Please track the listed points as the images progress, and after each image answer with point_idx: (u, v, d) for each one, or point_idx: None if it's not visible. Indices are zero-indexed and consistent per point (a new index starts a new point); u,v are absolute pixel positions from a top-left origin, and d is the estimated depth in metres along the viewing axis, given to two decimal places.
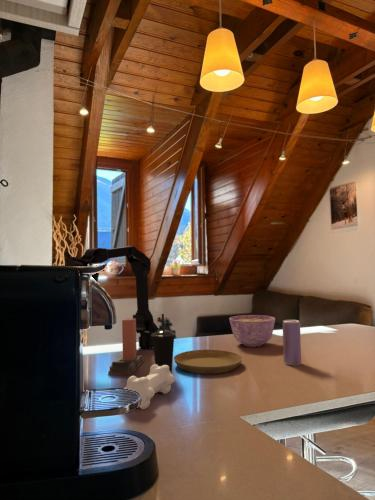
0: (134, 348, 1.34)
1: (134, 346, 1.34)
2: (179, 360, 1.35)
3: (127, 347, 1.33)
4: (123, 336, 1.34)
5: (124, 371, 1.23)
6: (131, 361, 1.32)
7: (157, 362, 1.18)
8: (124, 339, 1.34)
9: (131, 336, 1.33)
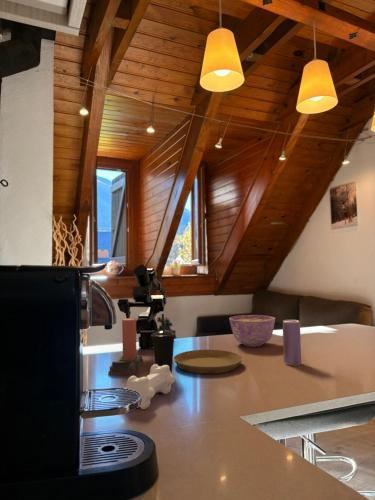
0: (134, 348, 1.34)
1: (134, 346, 1.34)
2: (179, 360, 1.35)
3: (127, 347, 1.33)
4: (123, 336, 1.34)
5: (124, 371, 1.23)
6: (131, 361, 1.32)
7: (157, 362, 1.18)
8: (124, 339, 1.34)
9: (131, 336, 1.33)
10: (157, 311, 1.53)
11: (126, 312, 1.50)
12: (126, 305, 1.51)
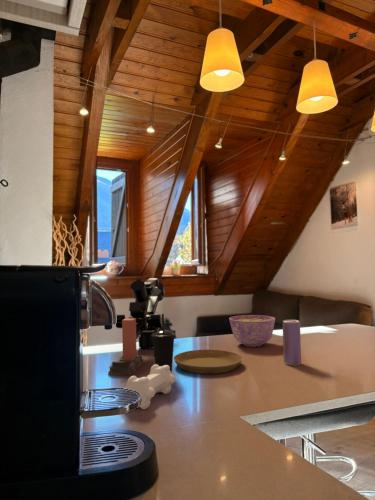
0: (134, 348, 1.34)
1: (134, 346, 1.34)
2: (179, 360, 1.35)
3: (127, 347, 1.33)
4: (123, 336, 1.34)
5: (124, 371, 1.23)
6: (131, 361, 1.32)
7: (157, 362, 1.18)
8: (124, 339, 1.34)
9: (131, 336, 1.33)
10: (145, 328, 1.48)
11: None
12: None
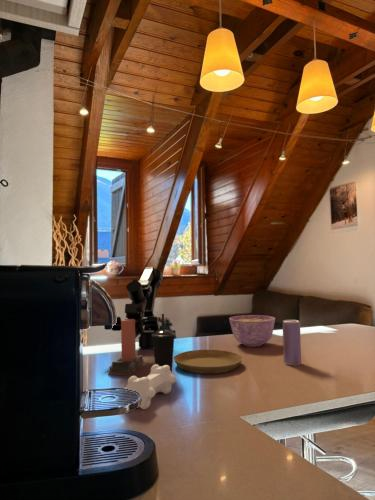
0: (133, 349, 1.33)
1: (133, 347, 1.33)
2: (179, 360, 1.35)
3: (126, 347, 1.32)
4: (122, 337, 1.32)
5: (124, 371, 1.23)
6: (130, 362, 1.31)
7: (157, 362, 1.18)
8: (123, 340, 1.32)
9: (130, 337, 1.32)
10: (141, 330, 1.42)
11: None
12: None
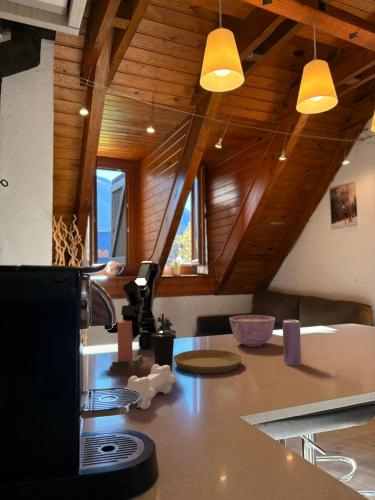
0: (130, 352, 1.29)
1: (130, 350, 1.29)
2: (179, 360, 1.35)
3: (123, 350, 1.28)
4: (118, 339, 1.28)
5: (124, 371, 1.23)
6: None
7: (157, 362, 1.18)
8: (119, 342, 1.28)
9: (127, 340, 1.28)
10: (138, 333, 1.38)
11: None
12: None
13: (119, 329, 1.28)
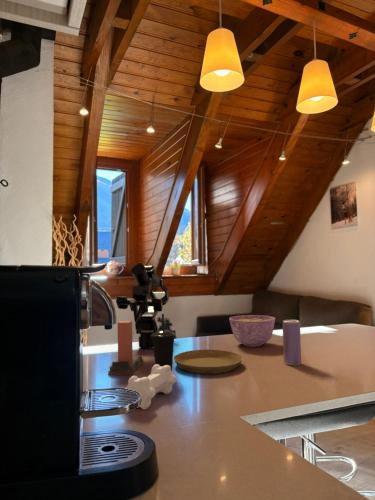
0: (130, 352, 1.29)
1: (130, 350, 1.29)
2: (179, 360, 1.35)
3: (123, 350, 1.28)
4: (118, 339, 1.28)
5: (124, 371, 1.23)
6: None
7: (157, 362, 1.18)
8: (119, 342, 1.28)
9: (127, 340, 1.28)
10: (146, 310, 1.54)
11: (134, 311, 1.50)
12: (134, 304, 1.51)
13: (119, 329, 1.28)
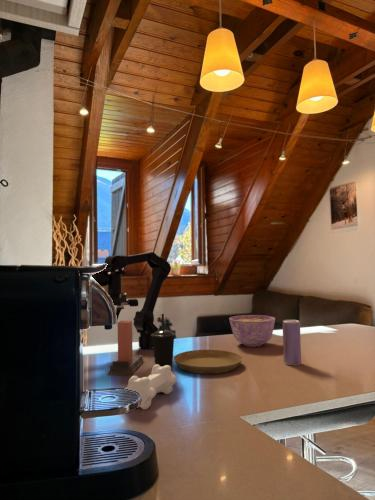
0: (130, 352, 1.29)
1: (130, 350, 1.29)
2: (179, 360, 1.35)
3: (123, 350, 1.28)
4: (118, 339, 1.28)
5: (124, 371, 1.23)
6: None
7: (157, 362, 1.18)
8: (119, 342, 1.28)
9: (127, 340, 1.28)
10: None
11: None
12: None
13: (119, 329, 1.28)
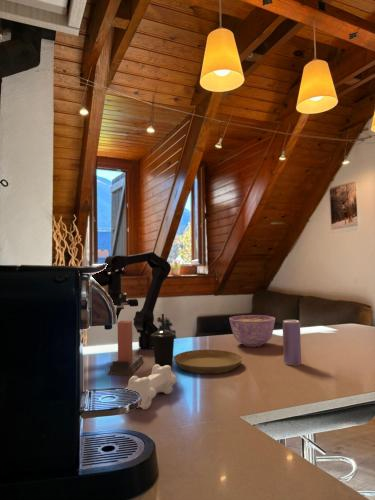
0: (130, 352, 1.29)
1: (130, 350, 1.29)
2: (179, 360, 1.35)
3: (123, 350, 1.28)
4: (118, 339, 1.28)
5: (124, 371, 1.23)
6: None
7: (157, 362, 1.18)
8: (119, 342, 1.28)
9: (127, 340, 1.28)
10: None
11: None
12: None
13: (119, 329, 1.28)
